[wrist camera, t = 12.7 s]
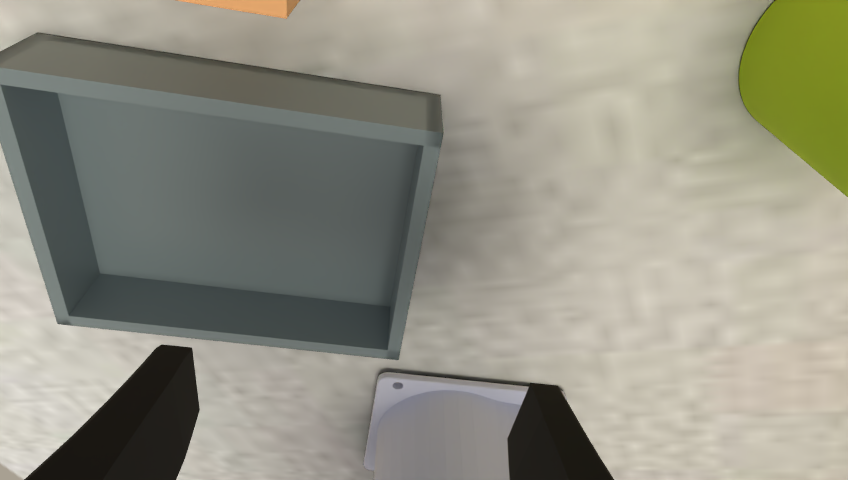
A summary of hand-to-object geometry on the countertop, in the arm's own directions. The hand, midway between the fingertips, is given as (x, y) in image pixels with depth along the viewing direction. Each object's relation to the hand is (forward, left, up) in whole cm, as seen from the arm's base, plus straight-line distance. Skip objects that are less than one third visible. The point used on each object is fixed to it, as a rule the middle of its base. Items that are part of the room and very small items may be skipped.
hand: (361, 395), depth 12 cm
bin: (+5, +2, -10) cm, 12 cm away
